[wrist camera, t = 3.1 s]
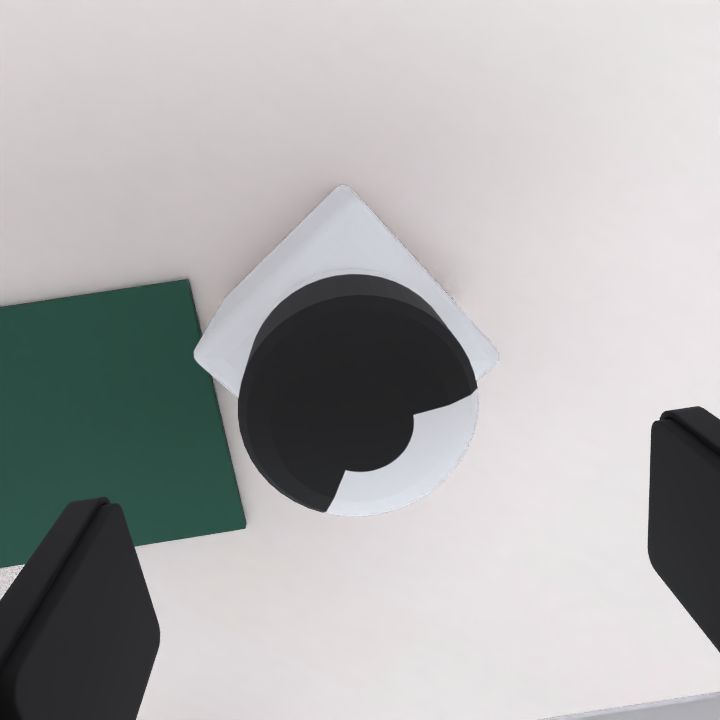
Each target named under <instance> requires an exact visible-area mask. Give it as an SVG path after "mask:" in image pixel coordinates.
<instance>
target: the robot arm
mask: <svg viewBox="0 0 720 720" xmlns="http://www.w3.org/2000/svg"><path fill="white" fill-rule="evenodd" d="M648 554H649V558H650V561H651V564H652V566H653V568H654V569H655V571H656V572H657V573H658V575H659V576H660V577H661V579H662V580H663V581H664V582H665V584H666V585H667V586H668V587H669V589H670V590H671V591H672V592H673V594H674V595H675V596H676V598H677V599H678V600H679V601H680V603H681V604H682V605H683V606H684V608H685V609H686V610H687V611H688V613H689V614H690V615H691V617H692V618H693V619H694V620H695V622H696V623H697V624H698V625H699V627H700V628H701V629H702V630H703V632H704V633H705V634H706V636H707V637H708V638H709V639H710V641H711V642H712V643H713V644H714V646H715V647H716V648H717V649H718V651H719V652H720V419H718V418H717V417H715V416H714V415H712V414H711V413H710V412H708V411H707V410H705V409H704V408H702V407H699V406H697V407H689V408H683V409H676V410H670V411H665V412H663V413H662V415H661V417H660V420H659V421H655V422H654V423H653V425H652V429H651V455H650V488H649V520H648ZM159 644H160V628H159V624H158V620H157V617H156V614H155V611H154V608H153V604H152V601H151V598H150V595H149V592H148V588H147V585H146V582H145V579H144V576H143V573H142V569H141V566H140V563H139V560H138V557H137V554H136V550H135V547H134V544H133V541H132V538H131V535H130V531H129V528H128V525H127V522H126V519H125V516H124V512H123V510H122V507H121V506H120V505H119V504H118V503H114V504H111V502H110V500H109V499H108V498H106V497H99V498H92V499H85V500H79V501H73V502H70V503H69V504H68V505H67V506H66V507H65V509H64V510H63V512H62V513H61V514H60V516H59V517H58V519H57V520H56V522H55V523H54V524H53V526H52V527H51V529H50V530H49V532H48V533H47V534H46V536H45V537H44V539H43V540H42V542H41V543H40V544H39V546H38V547H37V549H36V550H35V552H34V553H33V554H32V556H31V557H30V559H29V560H28V562H27V563H26V564H25V566H24V567H23V569H22V570H21V572H20V573H19V574H18V576H17V577H16V579H15V580H14V582H13V583H12V584H11V586H10V587H9V589H8V590H7V592H6V593H5V594H4V596H3V597H2V599H1V600H0V720H136V717H137V714H138V711H139V708H140V705H141V702H142V699H143V695H144V692H145V689H146V686H147V683H148V680H149V677H150V674H151V670H152V667H153V664H154V661H155V658H156V655H157V652H158V648H159ZM539 720H720V692H715V693H709V694H702V695H695V696H689V697H682V698H676V699H669V700H663V701H656V702H650V703H643V704H637V705H630V706H623V707H617V708H610V709H604V710H597V711H591V712H584V713H578V714H571V715H565V716H558V717H552V718H546V719H539Z"/></svg>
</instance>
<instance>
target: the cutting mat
mask: <svg viewBox="0 0 720 720" xmlns="http://www.w3.org/2000/svg"><path fill="white" fill-rule="evenodd" d="M201 338H202V334H201V330H200V326H199V321H198V317H197V313H196V309H195V305H194V300H193V296H192V292H191V288H190V283H189V280H188V279H185V280H178V281H172V282H165V283H158V284H152V285H145V286H138V287H132V288H125V289H118V290H112V291H105V292H98V293H92V294H85V295H78V296H72V297H65V298H58V299H51V300H45V301H38V302H31V303H25V304H18V305H11V306H5V307H0V568H3V567H9V566H16V565H22V564H26V563H27V562H28V560H29V559H30V557H31V556H32V554H33V553H34V552H35V550H36V549H37V547H38V546H39V544H40V543H41V542H42V540H43V539H44V537H45V536H46V534H47V533H48V532H49V530H50V529H51V527H52V526H53V524H54V523H55V522H56V520H57V519H58V517H59V516H60V514H61V513H62V512H63V510H64V509H65V507H66V506H67V505H68V504H69V503H70V502H73V501H79V500H85V499H92V498H99V497H106V498H108V499H109V500H110V502H111V504H114V503H118V504H119V505H120V506H121V507H122V510H123V512H124V516H125V519H126V522H127V525H128V528H129V531H130V535H131V538H132V541H133V544H134V546H140V545H147V544H153V543H159V542H165V541H172V540H178V539H184V538H190V537H196V536H203V535H209V534H215V533H221V532H228V531H234V530H240V529H245V528H246V520H245V516H244V512H243V508H242V504H241V499H240V495H239V491H238V487H237V482H236V478H235V474H234V470H233V465H232V461H231V457H230V453H229V449H228V444H227V440H226V436H225V432H224V427H223V423H222V419H221V415H220V410H219V406H218V402H217V398H216V393H215V389H214V385H213V381H212V377H211V374H210V373H208V372H207V371H206V370H205V369H204V368H203V367H202V366H200V365H199V364H198V363H197V361H196V360H195V358H194V350H195V348H196V346H197V344H198V343H199V341H200V339H201Z"/></svg>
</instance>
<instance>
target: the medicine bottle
mask: <svg viewBox="0 0 720 720" xmlns="http://www.w3.org/2000/svg"><path fill="white" fill-rule="evenodd" d="M194 358H195V360H196V361H197V363H198V364H199V365H200V366H202V367H203V368H204V369H205V370H206V371H207V372H208V373H210V374H211V375H212V376H213V377H214V378H215V379H216V380H217V381H219V382H220V383H221V384H222V385H223V386H224V387H225V388H226V389H228V390H229V391H230V392H231V393H232V394H233V395H234V396H236V397H237V398H238V420H239V427H240V432H241V436H242V439H243V443H244V446H245V448H246V450H247V452H248V454H249V456H250V459H251V460H252V462H253V463H254V465H255V466H256V468H257V469H258V471H259V472H260V473H261V474H262V475H263V477H264V478H265V479H266V480H267V481H268V482H269V483H270V484H271V485H272V486H273V487H275V488H276V489H277V490H278V491H279V492H280V493H282V494H283V495H285V496H286V497H288V498H290V499H291V500H293V501H294V502H297V503H299V504H301V505H303V506H305V507H307V508H310V509H313V510H316V511H320V512H323V513H328V514H333V515H339V516H370V515H375V514H381V513H386V512H389V511H393V510H396V509H399V508H402V507H404V506H406V505H408V504H411V503H413V502H415V501H417V500H418V499H420V498H422V497H423V496H425V495H427V494H428V493H430V492H431V491H432V490H433V489H435V488H436V487H437V486H439V485H440V484H441V483H442V482H443V481H444V480H445V479H446V478H447V477H448V476H449V475H450V474H451V473H452V471H453V470H454V469H455V468H456V466H457V465H458V464H459V462H460V461H461V459H462V457H463V456H464V454H465V452H466V450H467V449H468V447H469V444H470V442H471V439H472V436H473V434H474V430H475V426H476V422H477V416H478V404H479V402H478V387H477V383H476V381H477V380H478V379H480V378H481V377H482V376H483V375H484V374H485V373H487V372H488V371H489V370H490V369H491V368H492V367H494V366H495V365H496V364H497V362H498V361H499V352H498V350H497V348H496V347H495V346H494V345H493V344H492V342H491V341H490V340H489V339H488V338H487V337H486V336H485V335H484V334H483V333H482V331H481V330H480V329H479V328H478V327H477V326H476V325H475V324H474V323H473V322H472V320H471V319H470V318H469V317H468V316H467V315H466V314H465V313H464V312H463V311H462V309H461V308H460V307H459V306H458V305H457V304H456V303H455V302H454V301H453V300H452V299H451V297H450V296H449V295H448V294H447V293H446V292H445V291H444V290H443V289H442V288H441V286H440V285H439V284H438V283H437V282H436V281H435V280H434V279H433V278H432V277H431V275H430V274H429V273H428V272H427V271H426V270H425V269H424V268H423V267H422V266H421V264H420V263H419V262H418V261H417V260H416V259H415V258H414V257H413V256H412V255H411V254H410V252H409V251H408V250H407V249H406V248H405V247H404V246H403V245H402V244H401V243H400V241H399V240H398V239H397V238H396V237H395V236H394V235H393V234H392V233H391V232H390V230H389V229H388V228H387V227H386V226H385V225H384V224H383V223H382V222H381V221H380V219H379V218H378V217H377V216H376V215H375V214H374V213H373V212H372V211H371V210H370V209H369V207H368V206H367V205H366V204H365V203H364V202H363V201H362V200H361V199H360V198H359V197H358V196H357V194H356V193H355V192H354V191H353V190H352V189H351V188H350V187H348V186H347V185H339V186H338V187H336V188H335V189H334V190H333V191H332V192H331V193H330V194H329V195H328V196H327V197H326V198H325V199H324V200H323V201H322V202H321V203H320V204H319V205H318V206H317V207H316V208H315V209H314V210H313V211H312V212H311V213H310V214H309V215H308V216H307V217H306V218H305V219H304V220H303V221H302V222H301V223H300V224H299V225H298V226H297V227H296V228H295V229H294V230H293V231H292V232H291V233H290V234H289V235H288V236H287V237H286V238H285V239H284V240H283V241H282V242H281V243H280V244H279V245H278V246H277V247H276V248H275V249H274V250H273V251H271V252H270V253H269V254H268V255H267V256H266V257H265V258H264V259H263V260H262V261H261V262H260V263H259V264H258V265H257V266H256V267H255V268H254V269H253V270H252V271H251V272H250V273H249V274H248V275H247V276H246V277H245V278H244V279H243V280H242V281H241V282H240V283H239V284H238V285H237V286H236V287H235V288H234V289H233V290H232V291H231V292H230V293H229V294H228V295H227V296H226V297H225V298H224V300H223V301H222V303H221V305H220V307H219V308H218V310H217V312H216V313H215V315H214V317H213V319H212V320H211V322H210V324H209V326H208V327H207V329H206V331H205V332H204V334H203V336H202V338H201V339H200V341H199V343H198V344H197V346H196V348H195V350H194Z"/></svg>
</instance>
